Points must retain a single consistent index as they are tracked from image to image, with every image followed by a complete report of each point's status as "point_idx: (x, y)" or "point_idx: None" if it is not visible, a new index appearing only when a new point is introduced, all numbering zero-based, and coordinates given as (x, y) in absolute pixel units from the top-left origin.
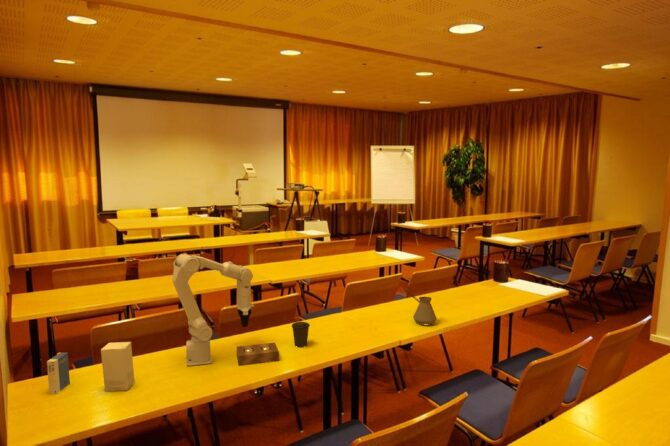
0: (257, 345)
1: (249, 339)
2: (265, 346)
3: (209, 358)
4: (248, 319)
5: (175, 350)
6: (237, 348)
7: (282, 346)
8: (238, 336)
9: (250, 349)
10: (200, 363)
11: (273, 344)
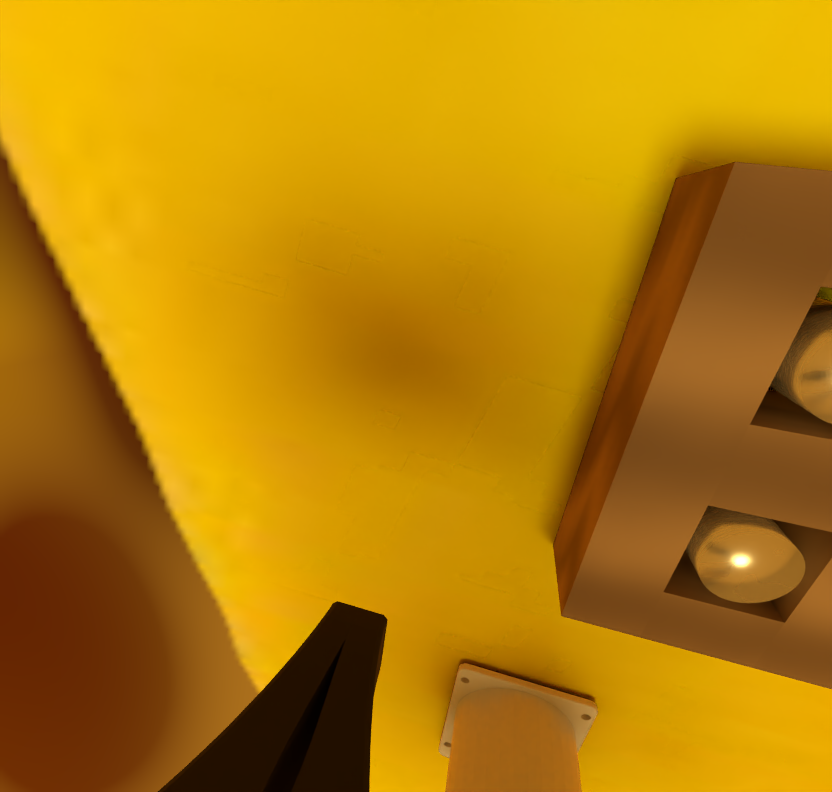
0: (674, 441)
1: (227, 347)
2: (816, 367)
3: (555, 720)
4: (367, 784)
5: None
6: (618, 625)
7: (560, 16)
8: (148, 408)
9: (764, 554)
10: (577, 752)
11: (810, 215)
